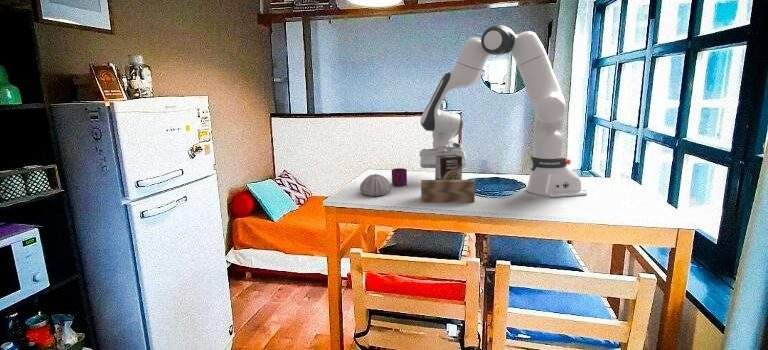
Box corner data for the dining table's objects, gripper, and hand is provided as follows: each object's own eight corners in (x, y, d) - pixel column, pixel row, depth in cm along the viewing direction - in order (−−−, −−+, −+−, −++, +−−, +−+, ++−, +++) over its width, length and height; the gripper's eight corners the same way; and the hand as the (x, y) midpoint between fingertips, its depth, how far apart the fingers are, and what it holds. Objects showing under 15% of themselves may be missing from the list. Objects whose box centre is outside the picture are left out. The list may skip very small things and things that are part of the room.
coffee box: (440, 198, 156) (441, 158, 153) (434, 194, 162) (434, 155, 159) (462, 196, 159) (462, 156, 155) (455, 191, 165) (455, 153, 161)
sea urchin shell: (373, 200, 157) (373, 180, 155) (352, 193, 167) (352, 175, 165) (398, 193, 166) (397, 174, 164) (376, 187, 176) (376, 169, 174)
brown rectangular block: (472, 198, 155) (473, 178, 153) (474, 202, 150) (474, 181, 148) (421, 198, 157) (421, 178, 155) (421, 202, 152) (421, 182, 150)
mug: (408, 183, 181) (408, 168, 179) (402, 188, 172) (402, 173, 170) (394, 182, 183) (394, 167, 181) (387, 188, 174) (387, 172, 172)
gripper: (419, 145, 177) (419, 171, 170) (466, 144, 176) (468, 171, 168) (419, 153, 183) (419, 179, 176) (464, 152, 181) (466, 178, 174)
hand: (443, 175), depth 172 cm, fingers closed
